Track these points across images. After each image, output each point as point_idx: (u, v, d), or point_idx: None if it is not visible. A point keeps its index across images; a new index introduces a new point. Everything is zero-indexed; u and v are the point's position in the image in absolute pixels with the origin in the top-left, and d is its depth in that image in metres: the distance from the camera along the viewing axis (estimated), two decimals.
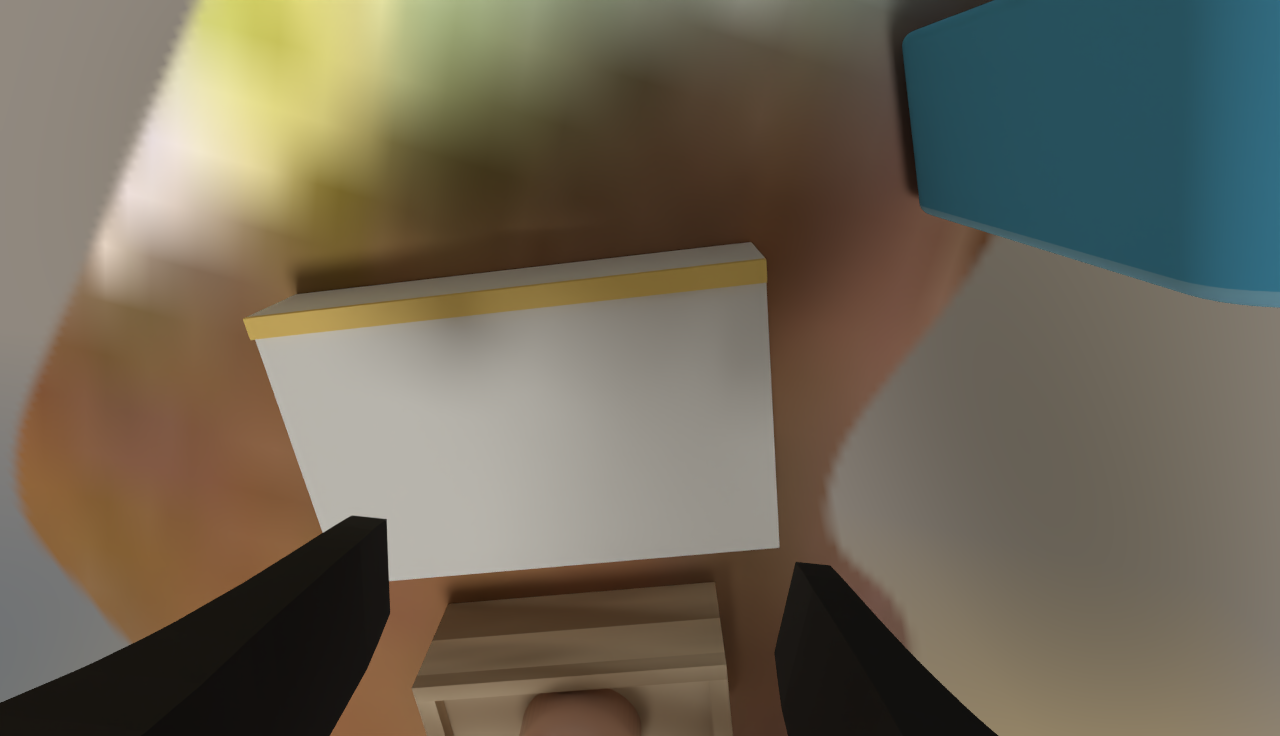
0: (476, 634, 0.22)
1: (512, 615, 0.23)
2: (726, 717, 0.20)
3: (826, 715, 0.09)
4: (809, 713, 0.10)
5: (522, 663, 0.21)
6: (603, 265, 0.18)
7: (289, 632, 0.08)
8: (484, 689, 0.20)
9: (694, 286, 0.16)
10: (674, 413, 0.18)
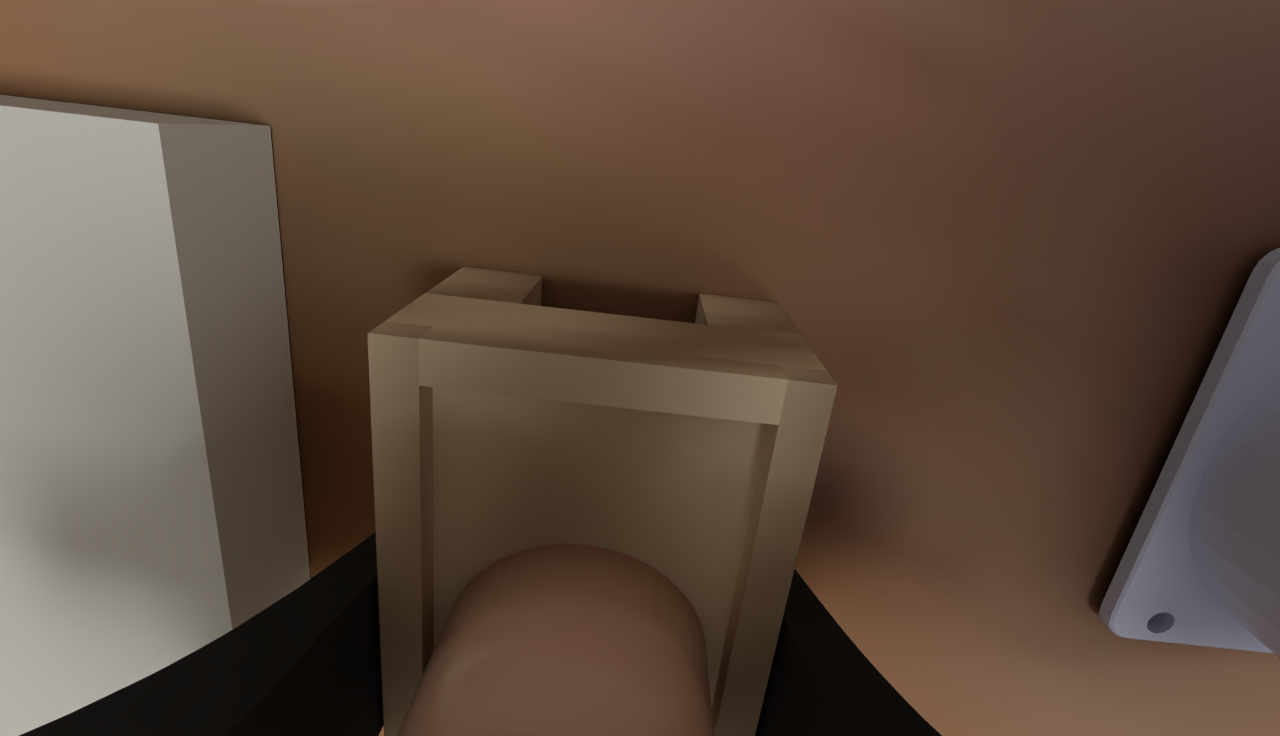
0: None
1: None
2: (553, 365, 0.08)
3: (776, 710, 0.09)
4: (762, 708, 0.10)
5: None
6: None
7: (344, 638, 0.08)
8: None
9: None
10: None
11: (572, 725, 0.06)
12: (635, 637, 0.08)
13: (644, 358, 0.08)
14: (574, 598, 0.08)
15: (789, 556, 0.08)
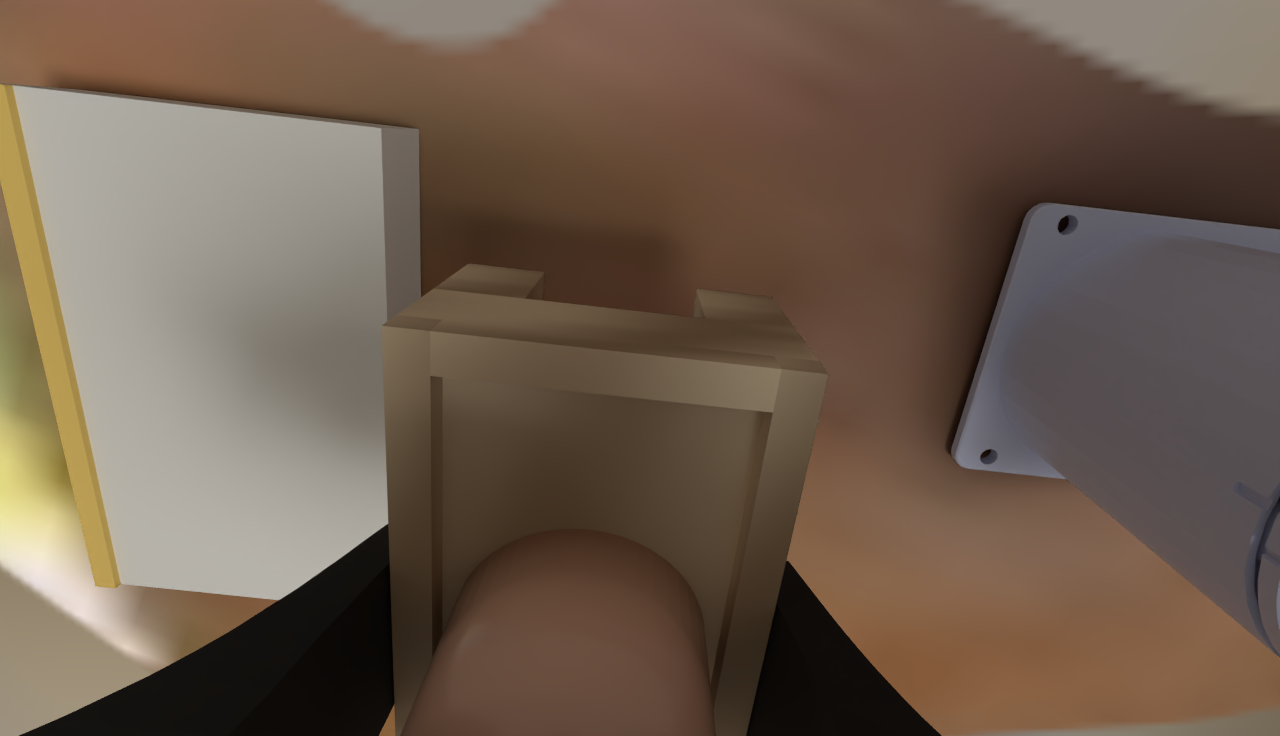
0: None
1: None
2: (558, 356, 0.08)
3: (776, 710, 0.09)
4: (762, 708, 0.10)
5: None
6: None
7: (345, 638, 0.08)
8: None
9: (18, 171, 0.15)
10: (186, 225, 0.15)
11: (581, 692, 0.07)
12: (637, 613, 0.08)
13: (644, 349, 0.08)
14: (579, 578, 0.08)
15: (783, 538, 0.09)
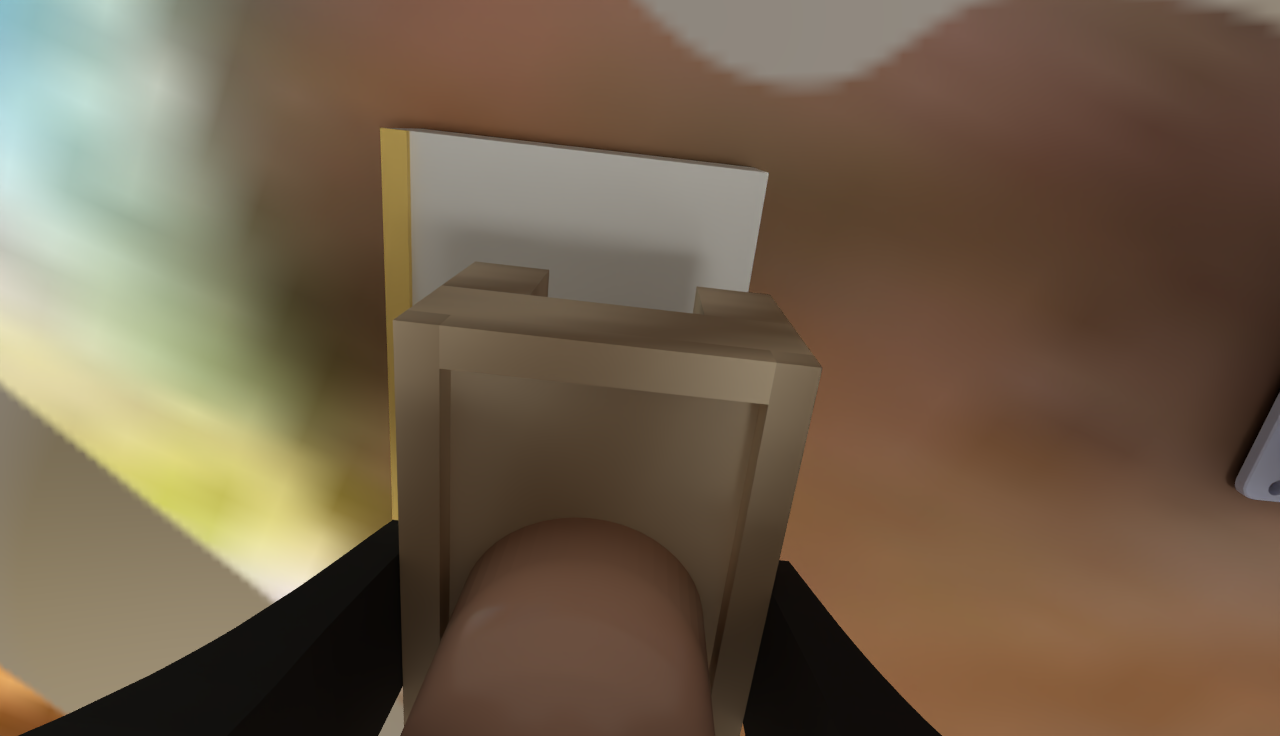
0: None
1: None
2: (562, 349, 0.08)
3: (776, 710, 0.09)
4: (762, 708, 0.10)
5: None
6: None
7: (344, 638, 0.08)
8: None
9: (402, 214, 0.15)
10: (554, 265, 0.16)
11: (584, 669, 0.07)
12: (638, 598, 0.08)
13: (646, 344, 0.08)
14: (582, 564, 0.09)
15: (779, 527, 0.09)
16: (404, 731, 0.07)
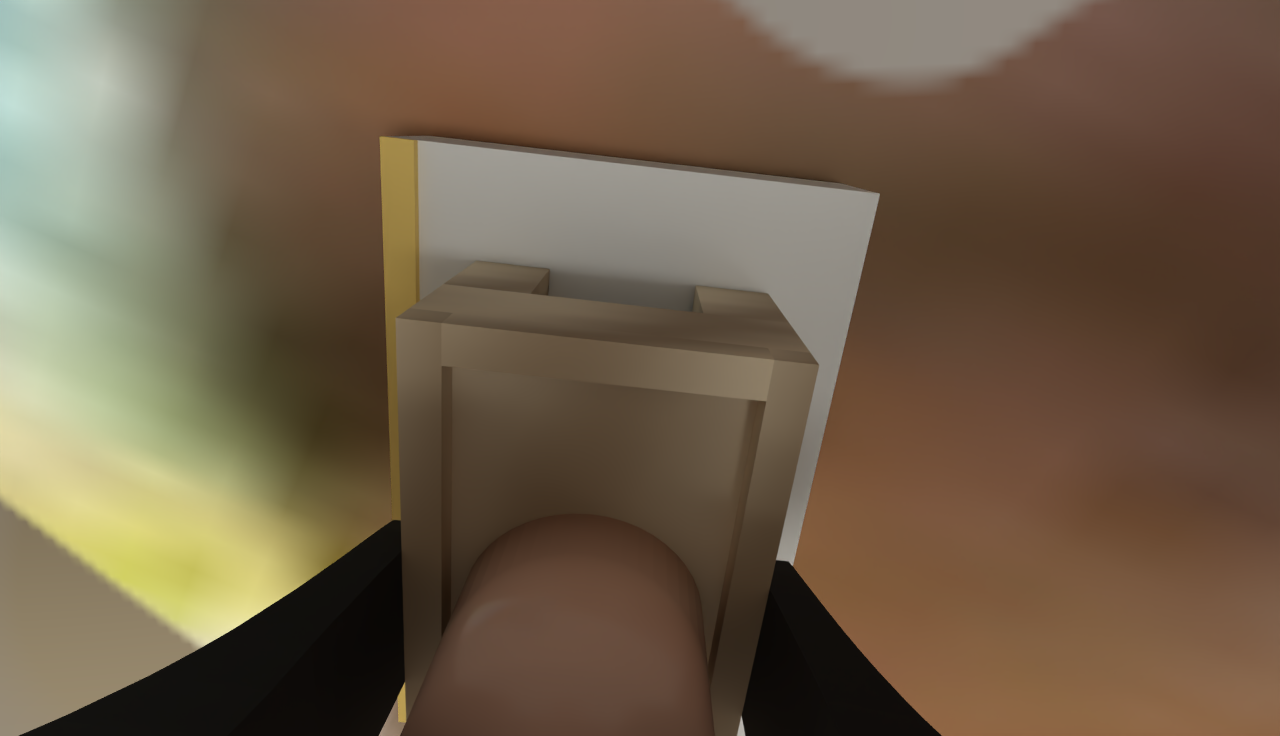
0: None
1: None
2: (563, 347, 0.08)
3: (776, 710, 0.09)
4: (762, 708, 0.10)
5: None
6: None
7: (344, 638, 0.08)
8: None
9: (408, 245, 0.12)
10: None
11: (583, 662, 0.07)
12: (637, 592, 0.08)
13: (644, 341, 0.08)
14: (583, 559, 0.09)
15: (777, 522, 0.09)
16: (407, 723, 0.07)
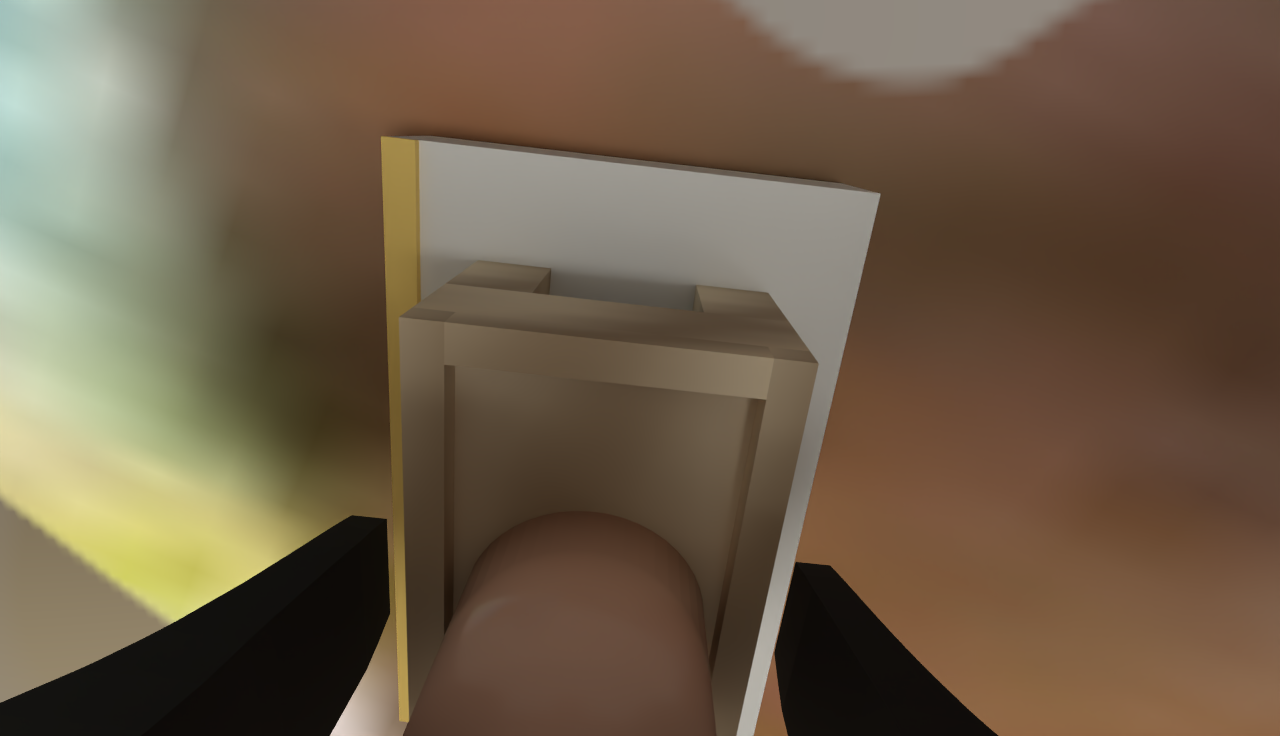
0: None
1: None
2: (564, 345, 0.08)
3: (826, 715, 0.09)
4: (809, 713, 0.10)
5: None
6: None
7: (289, 632, 0.08)
8: None
9: (410, 246, 0.12)
10: None
11: (587, 657, 0.07)
12: (640, 590, 0.09)
13: (645, 340, 0.09)
14: (585, 556, 0.09)
15: (777, 520, 0.09)
16: (412, 718, 0.07)
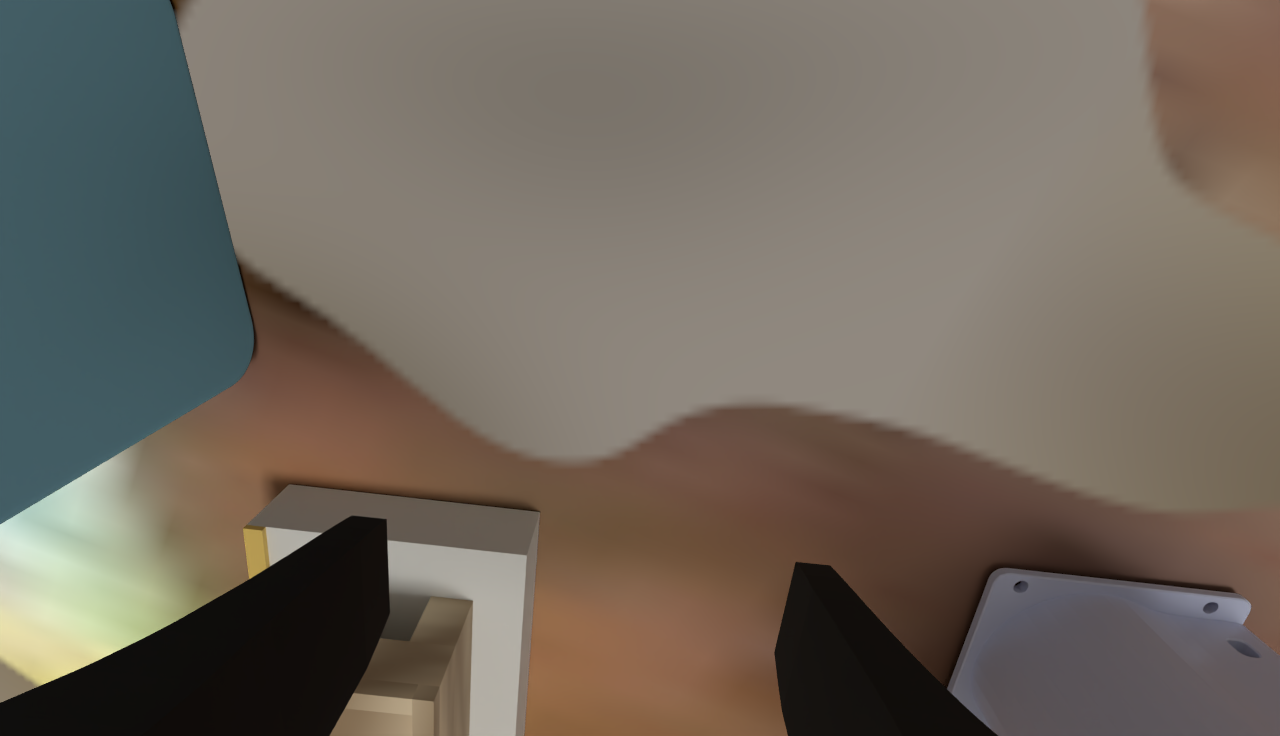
0: None
1: None
2: None
3: (826, 715, 0.09)
4: (809, 713, 0.10)
5: None
6: None
7: (289, 632, 0.08)
8: None
9: None
10: None
11: None
12: None
13: None
14: None
15: None
16: None
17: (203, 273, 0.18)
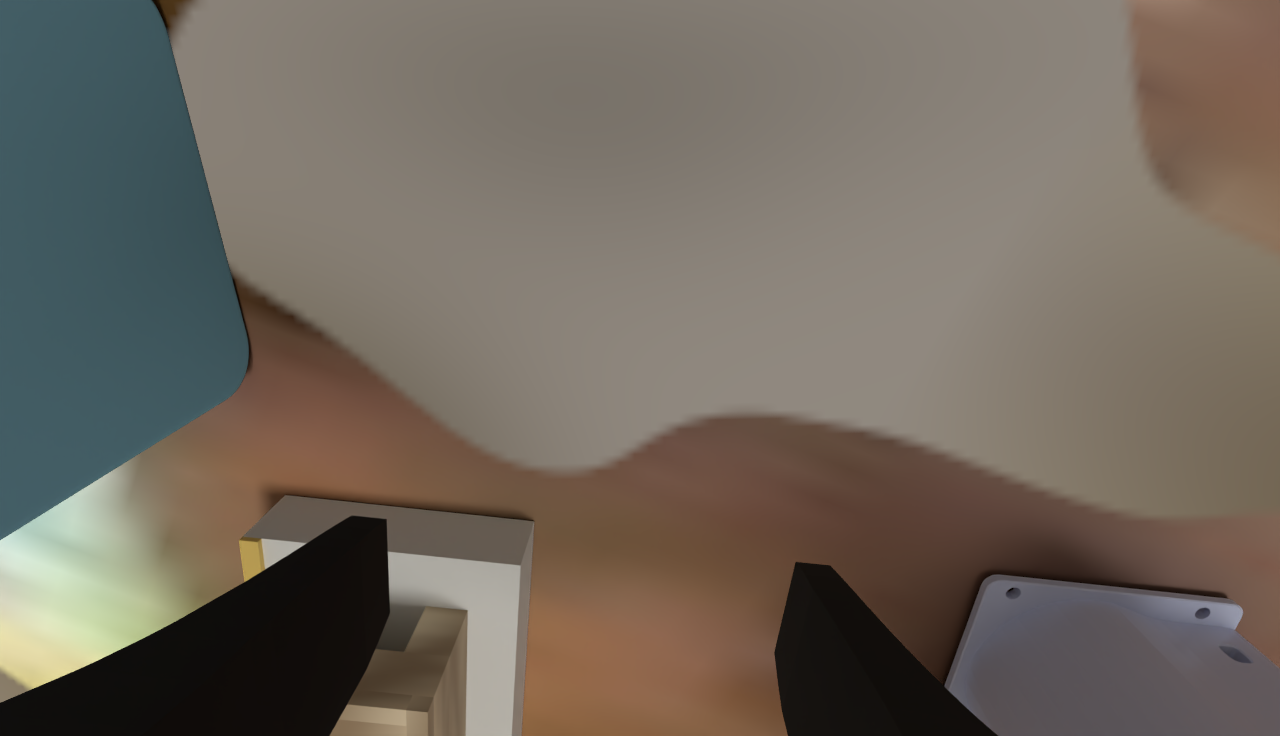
0: None
1: None
2: None
3: (826, 715, 0.09)
4: (809, 713, 0.10)
5: None
6: None
7: (289, 632, 0.08)
8: None
9: None
10: None
11: None
12: None
13: None
14: None
15: None
16: None
17: (197, 288, 0.18)
